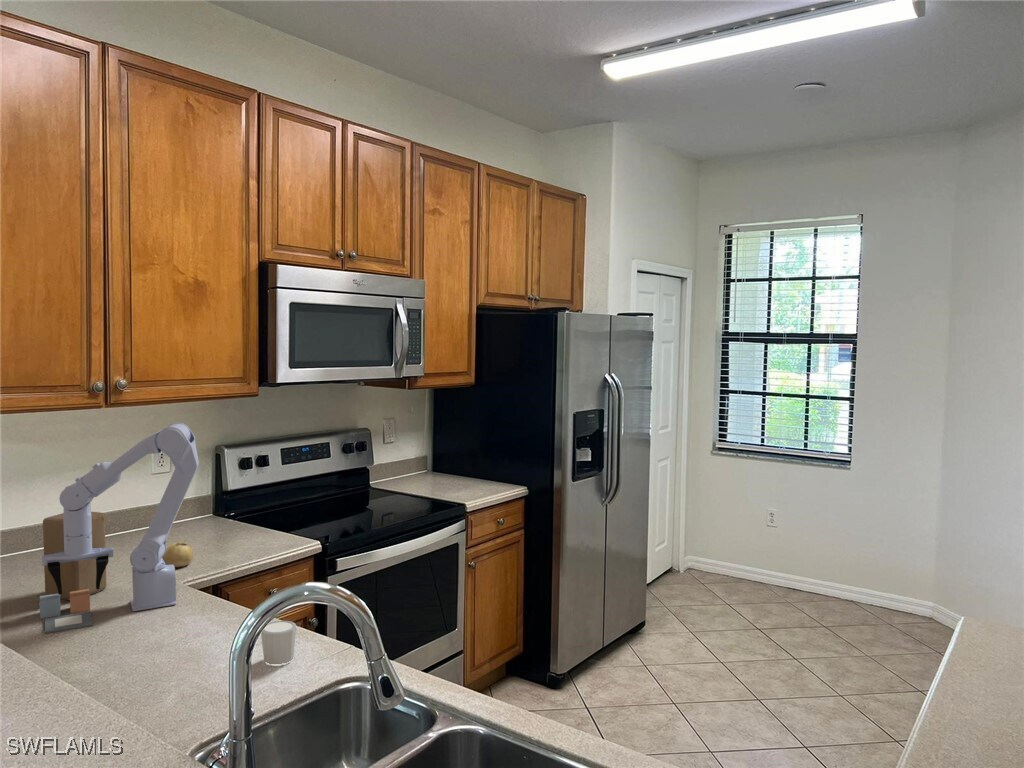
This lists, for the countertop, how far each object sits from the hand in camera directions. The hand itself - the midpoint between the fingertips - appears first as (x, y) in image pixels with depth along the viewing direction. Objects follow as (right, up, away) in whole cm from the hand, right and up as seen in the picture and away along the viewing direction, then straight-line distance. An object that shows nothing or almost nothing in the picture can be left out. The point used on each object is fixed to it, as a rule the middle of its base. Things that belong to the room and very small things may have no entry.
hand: (79, 590), depth 178 cm
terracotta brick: (0, -5, 0) cm, 5 cm away
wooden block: (-7, -4, +11) cm, 13 cm away
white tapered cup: (+55, -7, -26) cm, 62 cm away
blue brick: (-5, -5, -3) cm, 7 cm away
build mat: (+2, -5, -8) cm, 10 cm away
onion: (+8, -3, +34) cm, 35 cm away
